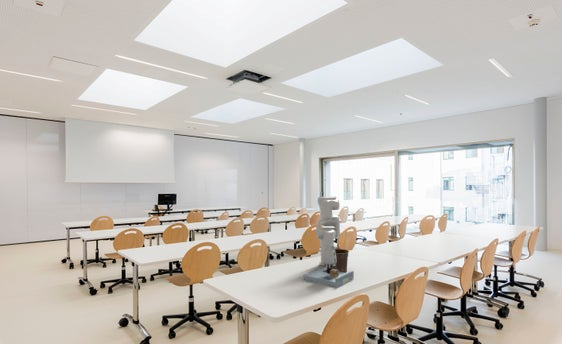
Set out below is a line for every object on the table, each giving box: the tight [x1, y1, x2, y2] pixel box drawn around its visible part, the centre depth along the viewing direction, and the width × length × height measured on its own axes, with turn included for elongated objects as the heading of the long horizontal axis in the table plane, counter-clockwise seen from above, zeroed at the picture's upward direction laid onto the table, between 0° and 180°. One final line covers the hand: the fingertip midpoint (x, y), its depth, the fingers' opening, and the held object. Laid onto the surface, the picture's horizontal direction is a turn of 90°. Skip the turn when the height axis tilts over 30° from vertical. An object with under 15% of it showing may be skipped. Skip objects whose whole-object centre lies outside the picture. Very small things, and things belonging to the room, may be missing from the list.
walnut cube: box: [330, 269, 339, 278], centre depth 222 cm, size 4×4×4 cm
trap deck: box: [303, 268, 355, 288], centre depth 225 cm, size 24×28×6 cm
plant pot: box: [331, 248, 350, 273], centre depth 245 cm, size 16×16×16 cm
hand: (329, 273), depth 225 cm, fingers closed
